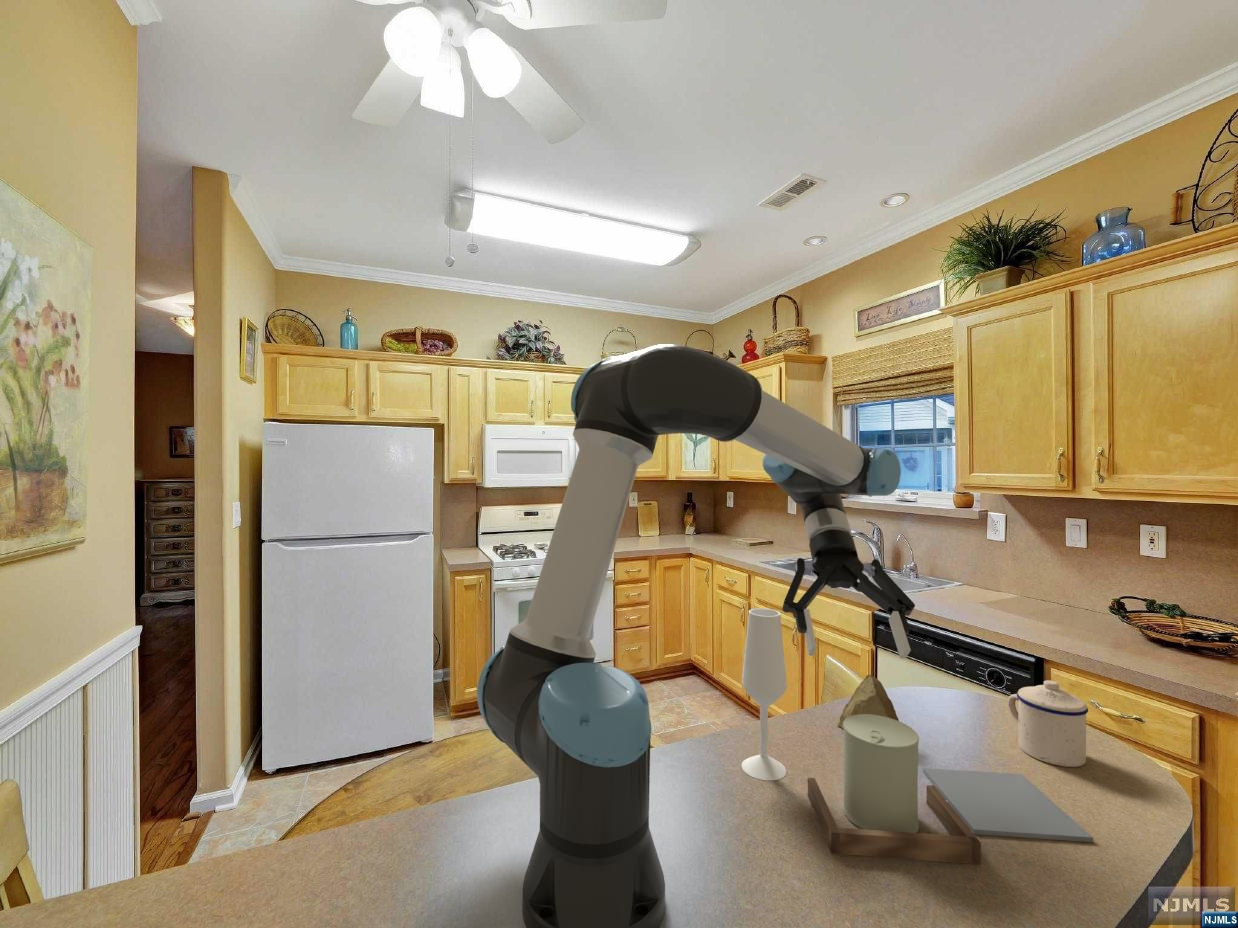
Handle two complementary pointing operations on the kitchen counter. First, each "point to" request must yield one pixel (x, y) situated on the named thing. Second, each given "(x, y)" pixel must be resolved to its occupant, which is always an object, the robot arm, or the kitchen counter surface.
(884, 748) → the can
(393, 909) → the kitchen counter surface
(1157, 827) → the kitchen counter surface
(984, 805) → the slate tile
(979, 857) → the walnut stall
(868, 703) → the rock
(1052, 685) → the teacup with lid
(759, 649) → the champagne flute
